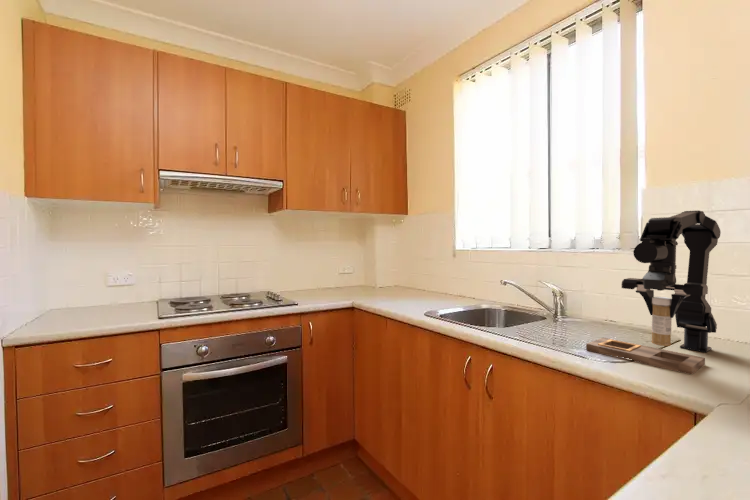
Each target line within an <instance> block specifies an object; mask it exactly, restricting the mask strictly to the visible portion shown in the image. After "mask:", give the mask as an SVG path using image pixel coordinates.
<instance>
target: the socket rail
mask: <svg viewBox="0 0 750 500" xmlns="http://www.w3.org/2000/svg"><path fill="white" fill-rule="evenodd" d="M585 347H586V348H585V350H586V351H589V352H594V353H597V354H601V355H605V354H606V356H610V355H612V356H611V357H614V356H618V357H624V358H629V359H632V360H634V361H633V362H635V361H636V362H635V363H640V364H644V365H649V366H653V367H657V368H662V369H666V370H671V371H674V372H679V373H682V374H687V375H693V374H695V373H696V372H698V371H699V370H700V369H702V368H703V367H705V365H706V357H702V356H699V355H698V356H697V355H693V354H688V353H683V352H678V351H673V350H669V349H668V350H667V349H662V348H657V347H652V346H648V345H644V344H639V343H632V342H628V341H623V340H618V339H611V338H608V337H601V338H598V339H595V340H593V341H590V342H587V343H586V346H585ZM618 357H617V358H618Z"/></svg>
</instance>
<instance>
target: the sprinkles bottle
mask: <svg viewBox="0 0 750 500" xmlns="http://www.w3.org/2000/svg"><path fill="white" fill-rule="evenodd" d="M671 303H672V297H666V296H654V297H652V305H653V312H652V315H651V320H652V321H651V341H650V342H651V343H652V344H653V345H656V346H661V347H670V346H671V345H672V340H671V339H672V338H671V336H672V320H673V318H670V310H671Z"/></svg>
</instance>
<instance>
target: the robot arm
mask: <svg viewBox="0 0 750 500" xmlns="http://www.w3.org/2000/svg"><path fill="white" fill-rule="evenodd" d="M721 233H722V232H721V228H720V226H719V224H718V223H717V221H716V220H715V219H713V218H711V217H709V216H707V215H706V213H705V212H704V211H703V210H698V209H697V210H684V211H682V212H680V213H678V214H675V215H672V216H668V217H664V216H663V217H651V218H650V219H648V221H647V222H646V224H645V226H644V228H643V231H642V233H641V236H640V239H639V241H640V243H638V244H637V245H636V246H635V247H634V249H633V257H634V259H636V261H638V262H639V263H642V264H649V266H648V270H647V272H646V273H645V274H644V276H643V277H642V278H636V277H627V278H623V279H622V281H621V289H625V290H627V289H628V290H635V289H636V290H635V292H636V293H637V294H640V296H641V297H642V298H643V300H644V302H645V304H646V305H645V306H646V307H647V309H648V313H649V314H650V316H652V312H653V305H652V297H655V295H654V293H655V291H665V290H667V291H673V293H671V294H670V295H671V299H672V303H671V310H670V318H672V319H673V318H674V317H675V322H676V327H677V328H681V329H684V331H683V332H684V333H683V344H680V345H679V348H682V349H685V350H693V351H696V352H701V353H707V352H709V351H710V350H712V347H711V346H709V345H708V343H709V334H711V333H713V334H714V333H717V329H718V327H717V325H718V323H717V322H716V319H715V318H714V315H713V313H712V307H711V305H710V303H709V302H708V300H707V299H706V296H707V295H708V293H709V288H708V287H709V285H707V283H708V273H709V263H710V262H709V261H710V253H711V251H713V250H714V248H715V247H716V246H718V240H719V238H720V237H721ZM680 235H682V237H683V243H684V244H685V245H686V248H687V249H688V250H689V259H688V267H687V268H688V269H687V279H686V280H687V281H686V282H685V283H683V284H679V283H677V276H676V271H677V270H676V269H677V263H676V262H677V246H678V244H679V243H678V241H677V239H679V237H680Z"/></svg>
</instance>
